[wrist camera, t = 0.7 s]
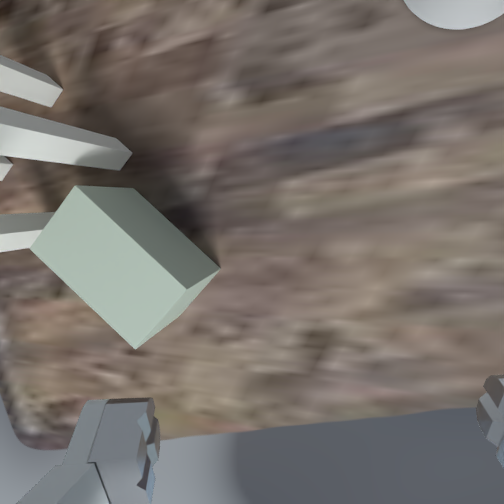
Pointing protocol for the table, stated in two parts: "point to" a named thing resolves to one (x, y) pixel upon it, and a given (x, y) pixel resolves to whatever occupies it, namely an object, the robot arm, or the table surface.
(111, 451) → the robot arm
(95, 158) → the stool
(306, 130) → the table surface
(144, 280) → the pale green cuboid block
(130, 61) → the table surface
